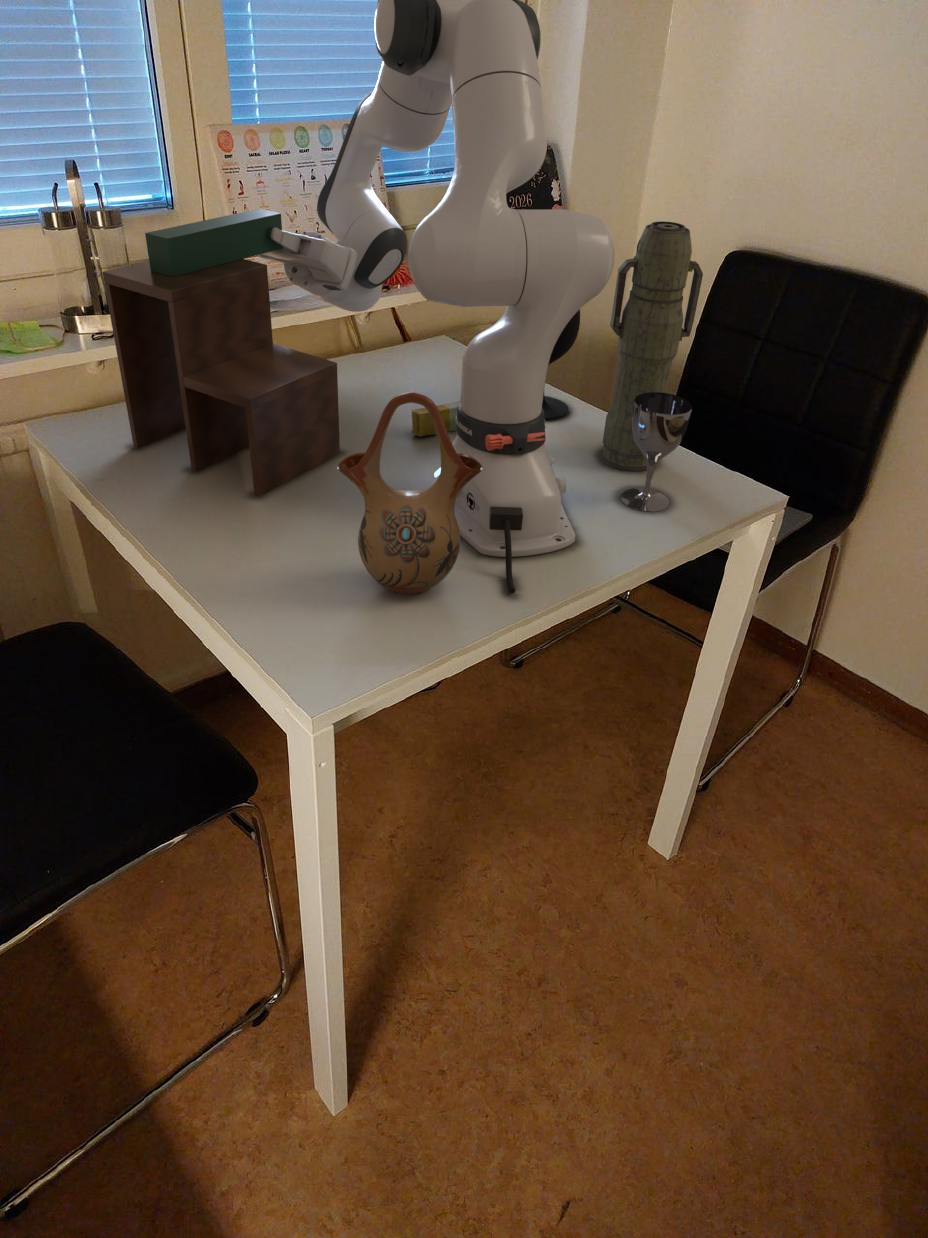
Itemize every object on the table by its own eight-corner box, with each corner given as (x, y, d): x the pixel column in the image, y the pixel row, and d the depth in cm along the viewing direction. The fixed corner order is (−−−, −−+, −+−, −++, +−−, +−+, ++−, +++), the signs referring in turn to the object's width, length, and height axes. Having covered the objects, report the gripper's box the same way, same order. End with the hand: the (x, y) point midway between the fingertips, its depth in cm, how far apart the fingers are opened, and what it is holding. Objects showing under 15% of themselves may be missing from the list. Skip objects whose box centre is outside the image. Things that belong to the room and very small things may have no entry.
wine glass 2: (608, 489, 134) (624, 394, 125) (656, 484, 136) (674, 390, 127) (632, 515, 128) (650, 416, 119) (681, 509, 130) (703, 412, 121)
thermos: (584, 447, 145) (616, 217, 125) (653, 446, 147) (696, 218, 127) (599, 472, 138) (636, 232, 118) (672, 470, 140) (720, 233, 120)
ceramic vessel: (471, 565, 115) (483, 377, 100) (478, 606, 107) (492, 409, 93) (342, 566, 113) (335, 375, 98) (340, 608, 106) (333, 407, 91)
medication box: (472, 421, 152) (472, 398, 150) (481, 425, 150) (481, 402, 148) (411, 432, 146) (410, 408, 144) (419, 437, 144) (419, 413, 142)
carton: (262, 243, 139) (259, 208, 136) (283, 248, 137) (281, 213, 134) (150, 271, 123) (144, 232, 121) (172, 277, 122) (167, 238, 119)
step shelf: (219, 410, 150) (200, 247, 135) (340, 453, 139) (334, 281, 124) (133, 446, 137) (101, 271, 122) (259, 496, 127) (241, 311, 111)
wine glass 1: (540, 425, 152) (553, 306, 140) (497, 405, 158) (506, 289, 146) (581, 411, 158) (596, 295, 146) (538, 392, 164) (550, 280, 152)
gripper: (269, 231, 150) (211, 196, 138) (366, 253, 142) (314, 218, 129) (258, 268, 151) (201, 237, 139) (354, 293, 143) (301, 262, 130)
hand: (256, 228), depth 134 cm, fingers closed on carton, 4 cm apart
